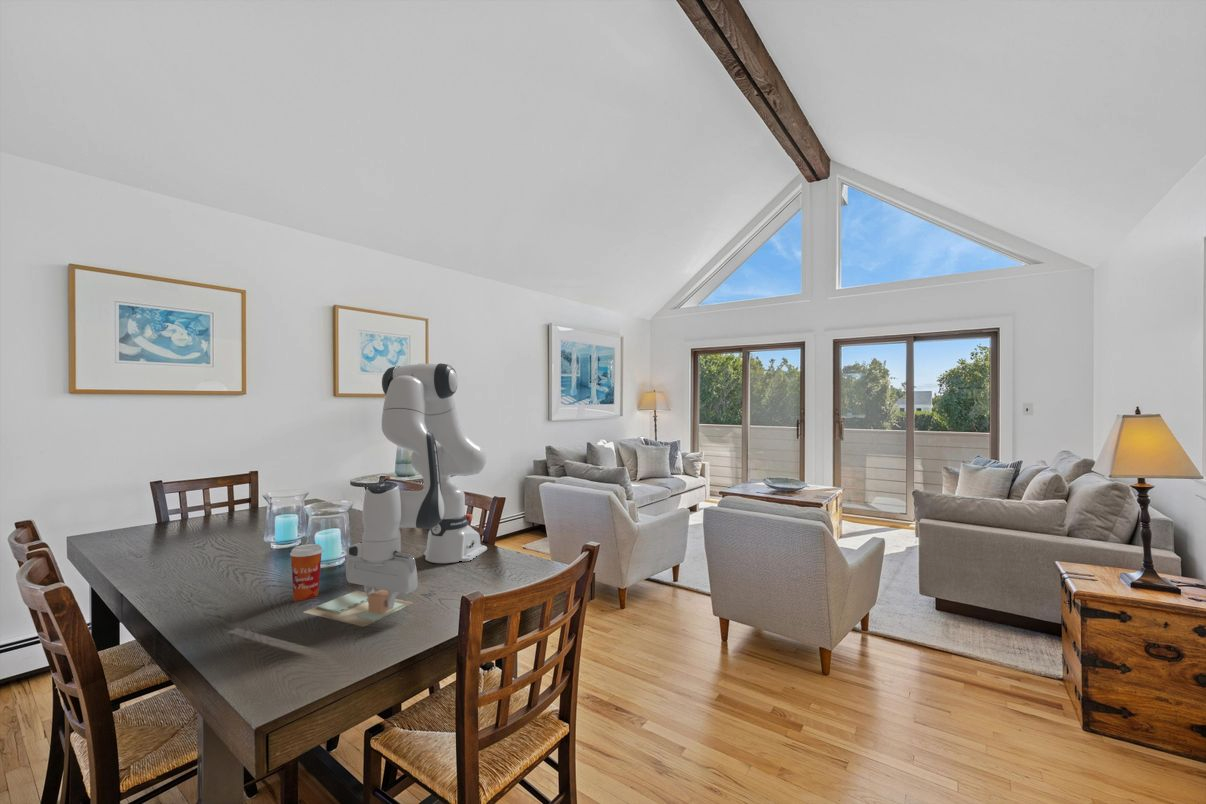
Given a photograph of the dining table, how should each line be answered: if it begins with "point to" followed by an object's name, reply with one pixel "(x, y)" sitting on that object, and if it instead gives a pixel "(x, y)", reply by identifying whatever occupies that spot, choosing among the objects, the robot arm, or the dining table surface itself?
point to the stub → (378, 606)
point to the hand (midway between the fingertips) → (381, 604)
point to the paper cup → (306, 570)
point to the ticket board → (349, 608)
